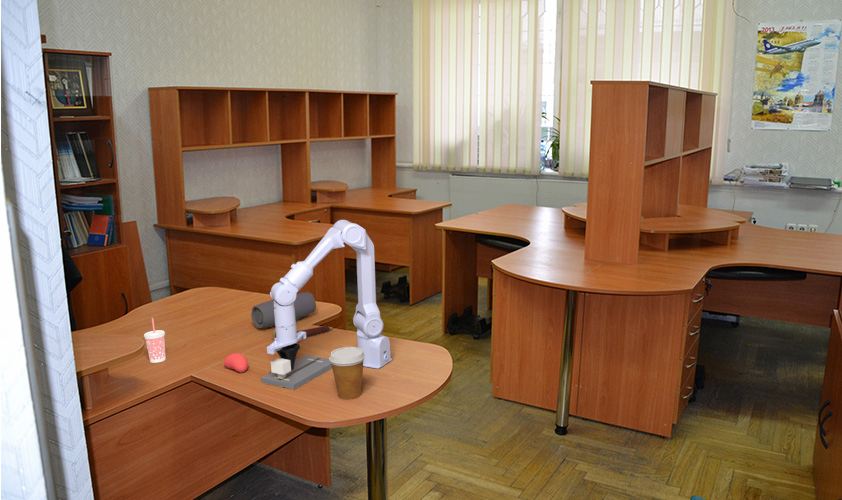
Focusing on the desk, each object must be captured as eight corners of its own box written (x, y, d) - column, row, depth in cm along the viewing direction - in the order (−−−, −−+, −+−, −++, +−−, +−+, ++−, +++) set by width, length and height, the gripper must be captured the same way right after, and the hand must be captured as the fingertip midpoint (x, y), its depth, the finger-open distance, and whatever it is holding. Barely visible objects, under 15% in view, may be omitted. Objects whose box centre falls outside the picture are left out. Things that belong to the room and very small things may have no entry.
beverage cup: (147, 358, 207) (142, 316, 204) (168, 355, 209) (162, 314, 207) (147, 364, 202) (141, 322, 199) (168, 361, 204) (162, 319, 201)
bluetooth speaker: (303, 313, 249) (301, 288, 247) (318, 318, 243) (316, 292, 241) (251, 328, 233) (249, 302, 231) (265, 334, 227) (263, 306, 225)
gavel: (325, 318, 232) (340, 324, 224) (325, 331, 233) (340, 337, 225) (271, 328, 219) (285, 335, 211) (272, 341, 219) (285, 348, 212)
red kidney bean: (244, 367, 200) (233, 350, 200) (255, 364, 193) (243, 347, 192) (231, 377, 197) (219, 360, 196) (241, 375, 190) (228, 357, 189)
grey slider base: (337, 364, 195) (337, 359, 195) (293, 390, 178) (293, 384, 178) (306, 359, 201) (305, 354, 201) (261, 382, 184) (260, 377, 184)
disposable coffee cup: (368, 386, 179) (365, 345, 176) (366, 401, 169) (363, 358, 167) (333, 388, 178) (330, 347, 176) (330, 403, 169) (326, 359, 167)
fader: (291, 376, 183) (290, 360, 182) (284, 380, 180) (282, 364, 179) (279, 374, 185) (278, 357, 184) (272, 378, 182) (270, 361, 181)
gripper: (291, 315, 191) (295, 359, 193) (256, 330, 178) (261, 376, 181) (310, 318, 187) (313, 362, 190) (276, 333, 175) (280, 380, 178)
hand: (289, 369), depth 185 cm, fingers closed
